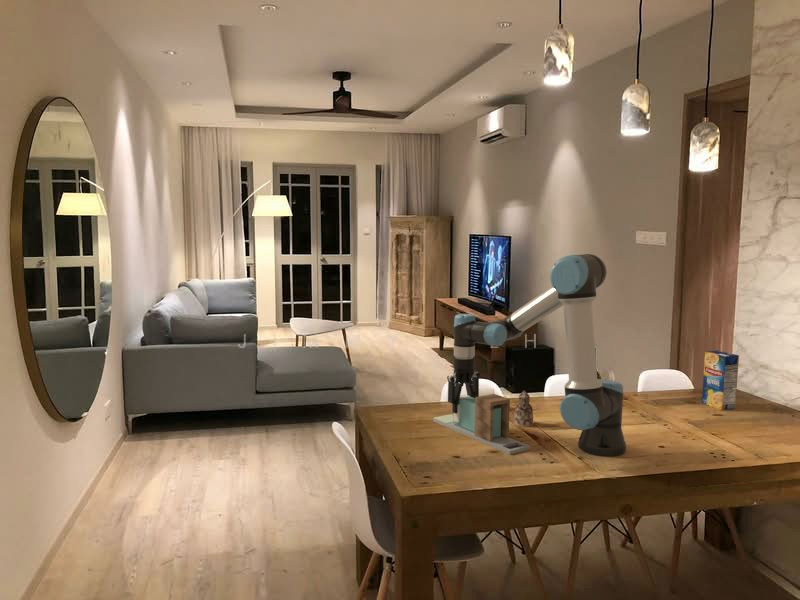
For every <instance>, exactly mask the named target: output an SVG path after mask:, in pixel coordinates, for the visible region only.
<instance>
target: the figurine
mask: <svg viewBox="0 0 800 600" xmlns="http://www.w3.org/2000/svg"><path fill="white" fill-rule="evenodd" d="M530 398H531V397H530V394H529V393H528V392H526V390H522V392H521V393H520V394H519V396H518V403H517V404H516V405H515V408H514V416H513V424H514V425H516V426H518V427H523V428H525V427H532V426H533V425H534V410H533V406H532V405H531V404H530Z"/></svg>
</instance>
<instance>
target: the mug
mask: <svg viewBox="0 0 800 600" xmlns="http://www.w3.org/2000/svg"><path fill="white" fill-rule="evenodd" d="M490 394H495V391H494V388H479V396H484V395H490Z"/></svg>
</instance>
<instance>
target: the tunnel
mask: <svg viewBox="0 0 800 600" xmlns="http://www.w3.org/2000/svg"><path fill="white" fill-rule="evenodd" d="M510 401H511V399H510V398H508V397H506V396H502V395H499V394H496V393H494V394H490V395H484V396H479V397H475V436H477V437H479V438H481V439H484V440H486V441H488V442H493V406H494V405H495V406H498V407H501V437H504V438H510V436H509V435H510V433H509V432H510Z"/></svg>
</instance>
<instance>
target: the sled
mask: <svg viewBox="0 0 800 600" xmlns="http://www.w3.org/2000/svg"><path fill="white" fill-rule="evenodd" d="M458 404H460V422H459V423H458V422H456V421H454V413H453V412H452V413H453V414H452V415H453V423H454V424H456V425H458V426H461V427H463V428H466V429H468V430H470V431H473V432H475V398H473V397H471V396H468V395H467V393H466V394H460V399H459V403H458ZM499 436H501V407H498V406H495V405H494V406H493V438H494V437H499Z"/></svg>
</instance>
